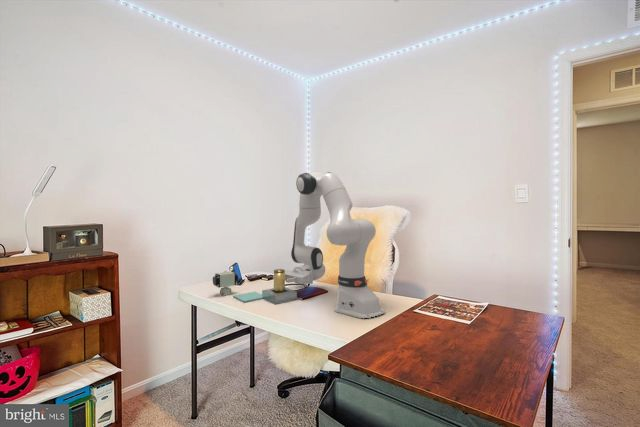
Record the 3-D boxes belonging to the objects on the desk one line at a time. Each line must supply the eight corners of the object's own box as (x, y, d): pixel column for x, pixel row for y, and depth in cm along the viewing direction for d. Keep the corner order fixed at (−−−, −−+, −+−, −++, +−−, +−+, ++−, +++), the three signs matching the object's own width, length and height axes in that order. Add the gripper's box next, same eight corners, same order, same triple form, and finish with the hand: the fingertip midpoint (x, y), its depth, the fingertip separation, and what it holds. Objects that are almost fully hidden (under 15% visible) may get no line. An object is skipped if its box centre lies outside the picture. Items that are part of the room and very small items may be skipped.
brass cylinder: (286, 299, 160) (286, 270, 160) (277, 301, 157) (277, 271, 156) (281, 297, 164) (281, 268, 164) (271, 298, 161) (271, 270, 160)
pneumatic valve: (238, 293, 170) (238, 270, 170) (216, 297, 163) (215, 273, 162) (233, 291, 174) (233, 268, 174) (211, 295, 167) (211, 271, 167)
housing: (296, 299, 160) (296, 291, 159) (275, 304, 152) (275, 295, 152) (283, 294, 169) (283, 286, 169) (262, 298, 161) (262, 290, 161)
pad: (266, 298, 162) (266, 296, 162) (244, 302, 154) (244, 301, 154) (255, 293, 171) (255, 291, 171) (233, 297, 164) (233, 295, 164)
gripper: (286, 266, 178) (266, 269, 167) (315, 271, 164) (294, 275, 154) (286, 277, 178) (266, 282, 168) (315, 284, 164) (294, 289, 154)
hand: (280, 279), depth 161 cm, fingers open, 8 cm apart
